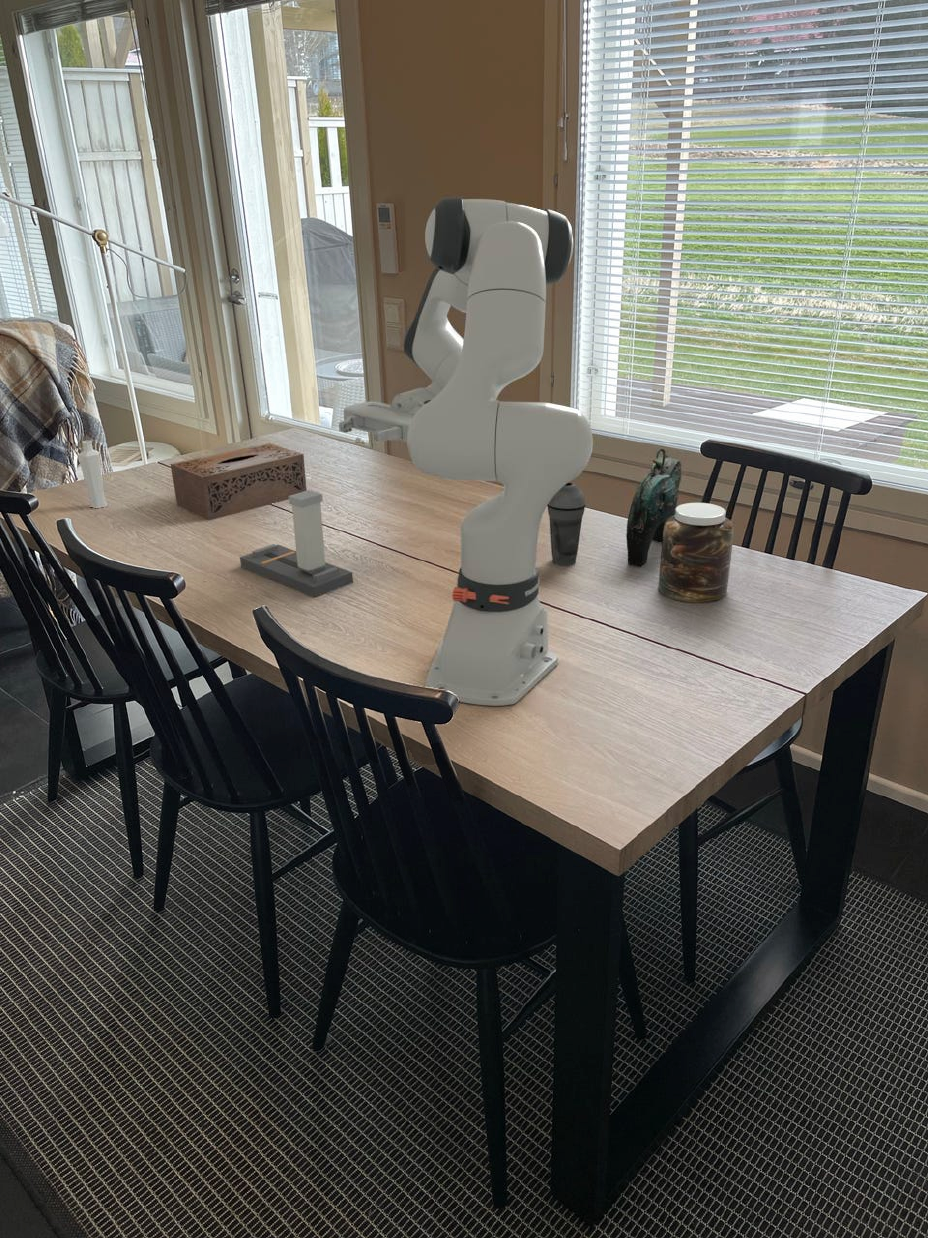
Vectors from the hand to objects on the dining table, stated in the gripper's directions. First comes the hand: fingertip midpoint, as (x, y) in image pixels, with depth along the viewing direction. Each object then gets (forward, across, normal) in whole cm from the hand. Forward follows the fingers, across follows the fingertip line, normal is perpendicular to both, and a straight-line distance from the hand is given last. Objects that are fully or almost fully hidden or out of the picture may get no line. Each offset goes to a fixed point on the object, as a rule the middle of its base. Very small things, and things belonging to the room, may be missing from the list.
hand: (358, 432), depth 168 cm
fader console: (+14, -5, +25) cm, 29 cm away
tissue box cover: (-6, -50, +27) cm, 57 cm away
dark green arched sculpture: (-40, +39, +27) cm, 62 cm away
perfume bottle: (+18, -72, +26) cm, 78 cm away
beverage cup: (-24, +29, +26) cm, 46 cm away
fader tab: (+14, 0, +22) cm, 26 cm away
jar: (-28, +55, +26) cm, 66 cm away
